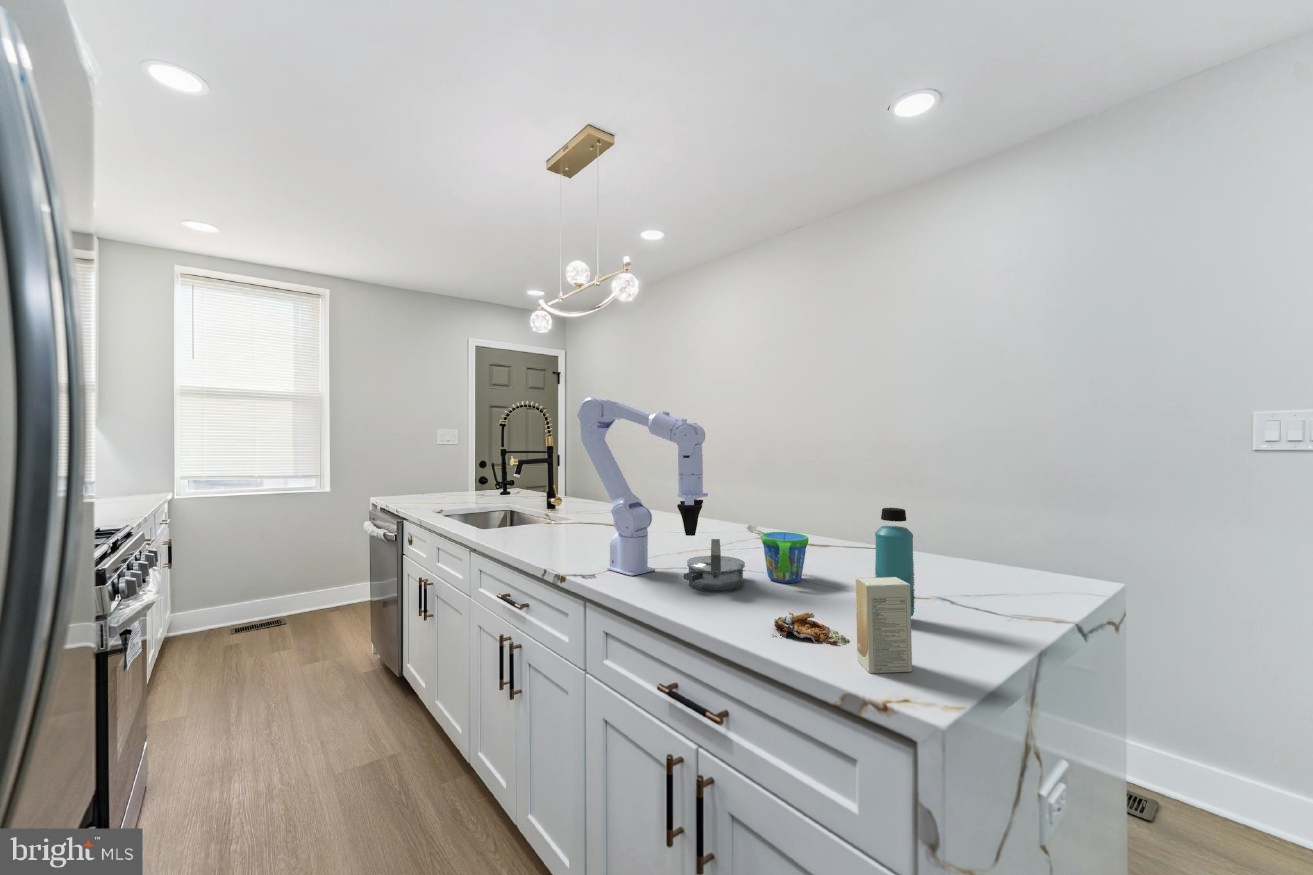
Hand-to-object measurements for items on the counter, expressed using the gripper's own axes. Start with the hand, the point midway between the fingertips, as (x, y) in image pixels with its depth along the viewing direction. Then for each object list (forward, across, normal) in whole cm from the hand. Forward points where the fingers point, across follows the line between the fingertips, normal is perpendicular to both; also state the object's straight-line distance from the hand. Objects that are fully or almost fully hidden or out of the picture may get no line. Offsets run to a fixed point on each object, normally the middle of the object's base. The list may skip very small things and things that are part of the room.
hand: (691, 532), depth 125 cm
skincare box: (+11, -46, -29) cm, 56 cm away
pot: (+10, -6, -6) cm, 13 cm away
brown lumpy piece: (+12, -35, -21) cm, 42 cm away
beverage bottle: (+11, -26, -37) cm, 47 cm away
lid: (+6, -6, -6) cm, 10 cm away
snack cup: (+11, +1, -21) cm, 24 cm away
